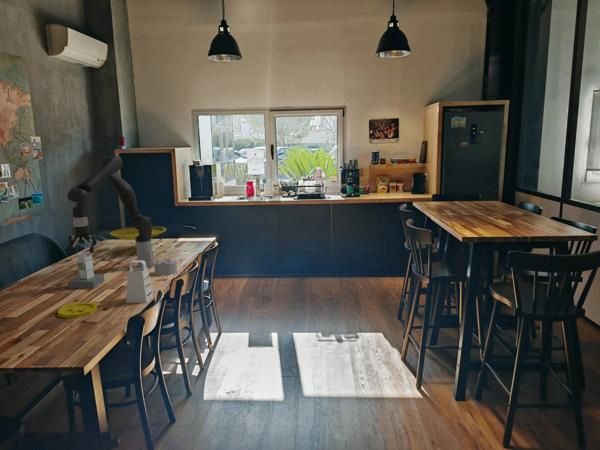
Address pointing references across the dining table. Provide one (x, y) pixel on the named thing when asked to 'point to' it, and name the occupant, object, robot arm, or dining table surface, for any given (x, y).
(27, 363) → the dining table surface
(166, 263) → the lumpy-topped squat cylinder
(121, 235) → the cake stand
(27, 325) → the dining table surface
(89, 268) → the syrup box
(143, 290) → the grater
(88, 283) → the charcoal plinth
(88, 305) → the decorative disc
